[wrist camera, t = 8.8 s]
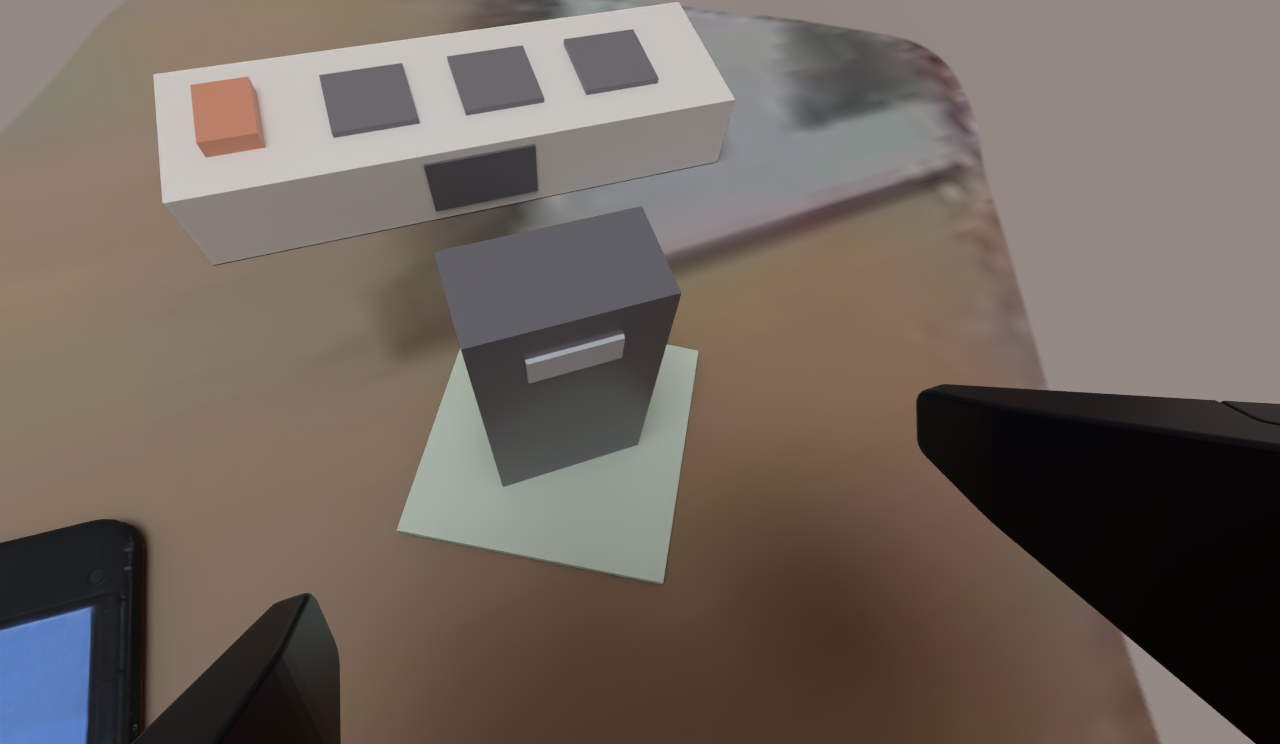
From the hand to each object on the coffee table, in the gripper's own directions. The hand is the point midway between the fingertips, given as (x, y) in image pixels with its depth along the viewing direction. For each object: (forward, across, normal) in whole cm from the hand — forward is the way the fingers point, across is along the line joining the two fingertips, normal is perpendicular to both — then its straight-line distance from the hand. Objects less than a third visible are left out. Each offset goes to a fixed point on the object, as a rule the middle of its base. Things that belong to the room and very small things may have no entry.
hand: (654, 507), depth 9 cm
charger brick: (+14, 0, +5) cm, 15 cm away
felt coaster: (+14, 0, +5) cm, 15 cm away
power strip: (+24, -1, -5) cm, 25 cm away
